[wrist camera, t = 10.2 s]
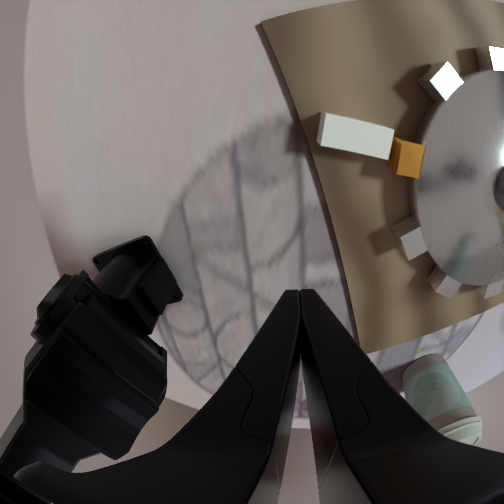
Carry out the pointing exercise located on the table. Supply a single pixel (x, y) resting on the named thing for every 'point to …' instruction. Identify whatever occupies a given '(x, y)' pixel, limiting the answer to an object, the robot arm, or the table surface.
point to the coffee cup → (441, 399)
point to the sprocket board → (405, 126)
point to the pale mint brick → (354, 135)
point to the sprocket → (457, 177)
